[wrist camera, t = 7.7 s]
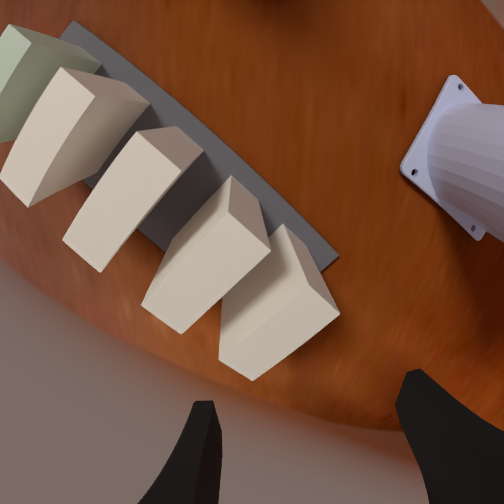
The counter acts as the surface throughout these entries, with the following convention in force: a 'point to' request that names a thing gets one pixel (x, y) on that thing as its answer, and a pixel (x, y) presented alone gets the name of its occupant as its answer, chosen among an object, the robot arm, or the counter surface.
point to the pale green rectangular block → (32, 73)
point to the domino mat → (201, 170)
